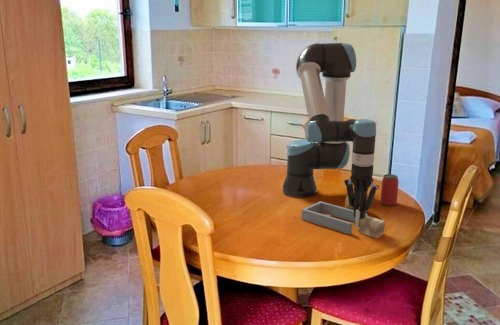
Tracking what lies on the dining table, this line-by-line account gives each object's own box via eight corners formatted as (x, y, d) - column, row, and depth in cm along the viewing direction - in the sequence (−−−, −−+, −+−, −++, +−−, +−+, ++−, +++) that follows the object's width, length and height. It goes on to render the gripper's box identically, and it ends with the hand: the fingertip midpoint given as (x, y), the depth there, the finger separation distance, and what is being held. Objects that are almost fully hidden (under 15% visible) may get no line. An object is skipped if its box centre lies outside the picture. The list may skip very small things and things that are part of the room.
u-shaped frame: (301, 219, 190) (301, 209, 189) (320, 210, 199) (320, 201, 198) (349, 234, 176) (350, 224, 175) (367, 224, 185) (367, 214, 184)
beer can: (397, 206, 203) (399, 178, 200) (380, 205, 204) (382, 178, 201) (396, 201, 209) (398, 174, 206) (379, 200, 211) (382, 173, 207)
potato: (363, 206, 203) (364, 188, 201) (374, 219, 190) (375, 200, 188) (339, 207, 203) (340, 188, 200) (349, 220, 189) (350, 200, 187)
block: (360, 219, 177) (378, 224, 172) (367, 215, 180) (384, 220, 176) (359, 232, 178) (377, 238, 173) (366, 228, 182) (383, 233, 177)
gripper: (340, 162, 176) (337, 224, 182) (373, 169, 167) (369, 234, 174) (352, 158, 181) (348, 218, 187) (384, 165, 173) (379, 227, 179)
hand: (358, 226), depth 180 cm, fingers closed
